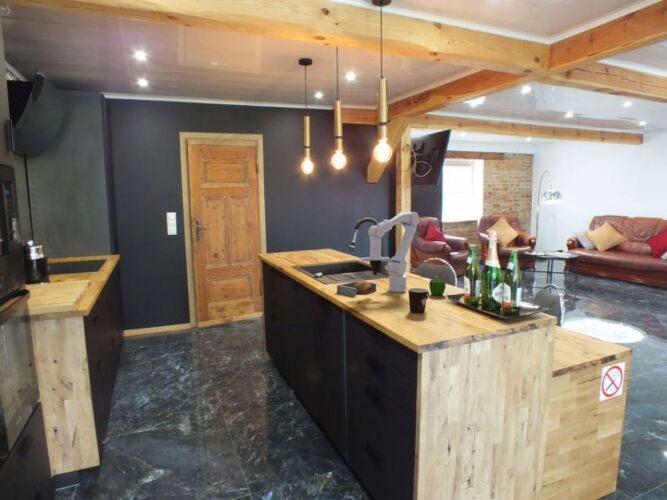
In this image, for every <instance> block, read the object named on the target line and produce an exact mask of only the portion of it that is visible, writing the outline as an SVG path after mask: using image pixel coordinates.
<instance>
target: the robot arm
mask: <svg viewBox="0 0 667 500" xmlns="http://www.w3.org/2000/svg"><path fill="white" fill-rule="evenodd" d="M419 221H420V216H419V213H418V212H416V211H404V210H403V211H401V212H399V213H398V214H397V215H395V216H393V218H391V219H382V221H381V222H379V223H376V225H372V226H370V227H369V228H368V231H367V235H368V237H369V243H370V244H369V256H365V257H363V256H362V257H360V258H361V262H369V263H370V264H369V265H370V266H371V269H372V270H371V271H372V274H373V276H378V271H379V268H380V266H381V264H382V262H387V264H386V271H387V272H388V275H389V276H388V288H387V292H393V293H394V292H395V293H406V291H407V286H408V285H407V274H405V273H406V270H407V266H408V263H407V261H406V256H407V255H408V252H409V250H410V246H411V244H412V241H413V239H414V236H415V235H416V231H417V228H418V225H419ZM399 223H400V225H402V227H403V228H404V232H403V235H402V239H401V240H400V243H399V245H398V248H397V251H396V253H395V255H394V256H392V257H391V258H390V256H382V237H384V235H385V234H387V232H389V231H391V230H392V228H393V226H396V225H398V224H399Z"/></svg>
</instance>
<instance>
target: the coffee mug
mask: <svg viewBox="0 0 667 500" xmlns="http://www.w3.org/2000/svg"><path fill="white" fill-rule="evenodd" d="M407 291H408V302H409V303H408V304H409V312H410V313H411V314H415V313H423V314H425V313H426V312H425V311H426V306H427V300H428V299H429V296H430V293H429V290H428V289H427V288H423V287H422V288H421V287H410V288H408V289H407Z"/></svg>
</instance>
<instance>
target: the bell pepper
mask: <svg viewBox="0 0 667 500" xmlns="http://www.w3.org/2000/svg"><path fill="white" fill-rule="evenodd" d="M434 277H435V278H436V279H433V278H432V279H430V280H429V284H428V285H429V287H428V288H429V291H430V294H431V296H434V295H435V297H436V296H437V297H439V295H440V296H443V295H444V294H445V291H446V281H445V280H444V279H439V277H438V275H434Z"/></svg>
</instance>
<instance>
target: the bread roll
mask: <svg viewBox="0 0 667 500" xmlns="http://www.w3.org/2000/svg"><path fill="white" fill-rule="evenodd" d="M357 281H358V280H357ZM368 282H369V281H366V280H360V281H358V282H357V283H356V284H355V285H354V288H356V294H359V295H367V294H371V293H372V292H373V291H372V286H371V284H370V283H368Z"/></svg>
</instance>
